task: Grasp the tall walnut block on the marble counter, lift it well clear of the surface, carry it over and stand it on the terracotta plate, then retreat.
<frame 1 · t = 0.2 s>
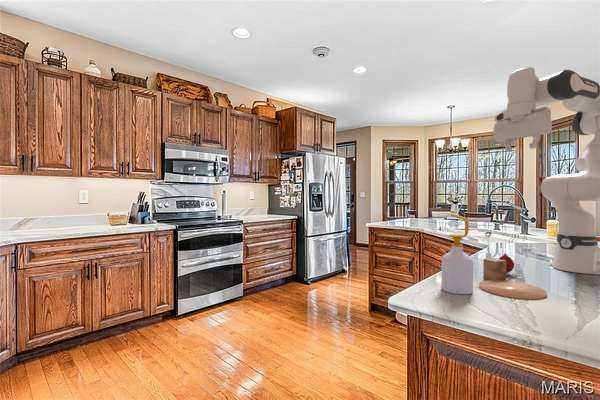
hand: (520, 150, 118), 47 cm above the worktop, fingers open, 8 cm apart
onion: (505, 274, 123), on the worktop
plate: (511, 290, 102), on the worktop
block: (494, 278, 116), on the worktop
soap bottle: (456, 291, 102), on the worktop
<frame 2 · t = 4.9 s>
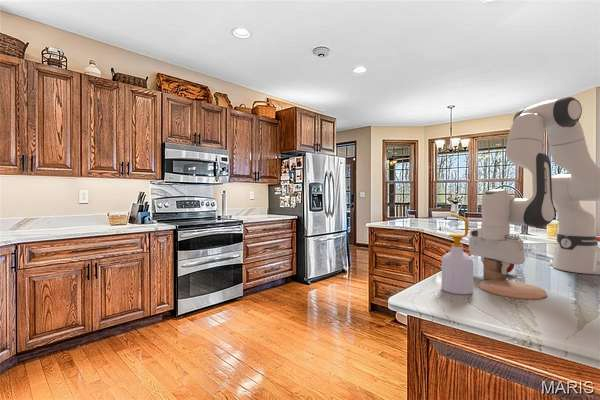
hand: (494, 271, 116), 3 cm above the worktop, fingers closed on block, 5 cm apart
block: (494, 278, 116), on the worktop, touching gripper
everything else where it was.
when the fingers open (5 cm above the worktop, at t = 12.8 s): block drops 1 cm, resting on plate.
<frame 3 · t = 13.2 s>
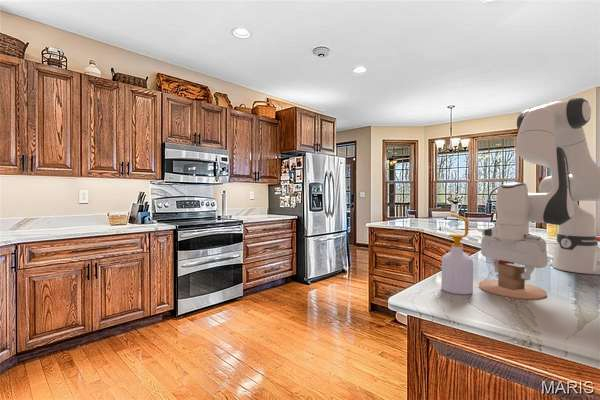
hand: (511, 275, 102), 5 cm above the worktop, fingers open, 8 cm apart
block: (511, 287, 102), point 1 cm above the worktop, touching plate
everything else where it was.
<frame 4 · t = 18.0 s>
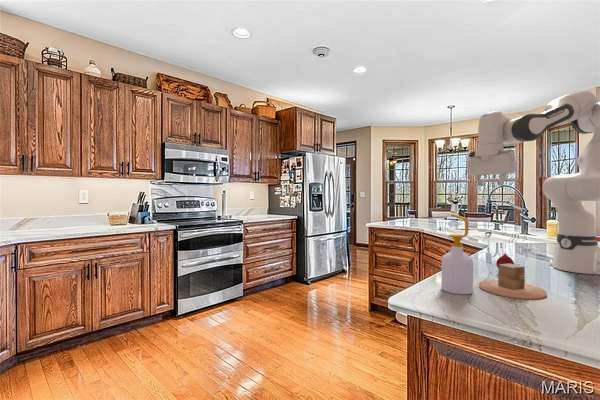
hand: (489, 186, 130), 34 cm above the worktop, fingers open, 8 cm apart
nothing on the worktop moved.
at the end: block inside the target area on the plate (0.0 cm from its centre), point 0.9 cm above the plate's base; block tilted 0°; the gripper is holding nothing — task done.
